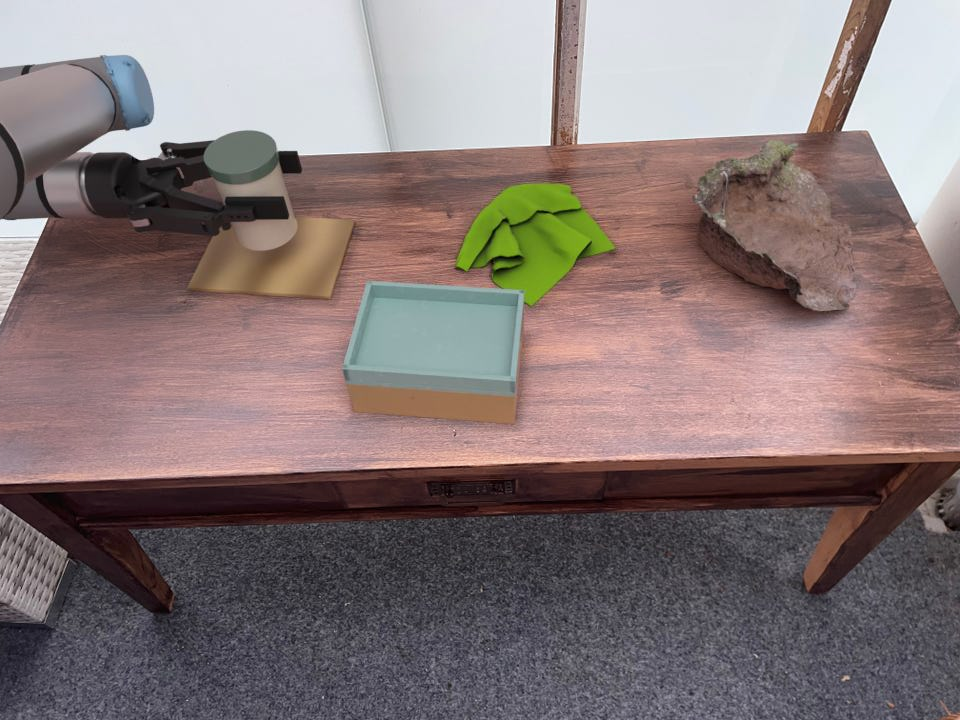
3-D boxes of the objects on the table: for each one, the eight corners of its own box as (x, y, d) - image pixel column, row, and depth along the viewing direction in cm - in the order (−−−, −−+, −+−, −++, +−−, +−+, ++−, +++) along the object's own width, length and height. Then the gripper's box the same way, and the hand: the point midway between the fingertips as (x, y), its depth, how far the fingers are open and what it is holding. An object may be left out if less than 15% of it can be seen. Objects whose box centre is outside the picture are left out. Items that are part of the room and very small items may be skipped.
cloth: (572, 175, 101) (574, 161, 99) (635, 283, 88) (638, 268, 86) (430, 204, 98) (429, 190, 96) (473, 320, 85) (473, 306, 83)
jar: (225, 250, 87) (192, 171, 78) (245, 207, 92) (217, 128, 83) (289, 254, 86) (264, 175, 77) (306, 210, 91) (284, 131, 82)
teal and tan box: (354, 412, 77) (341, 368, 71) (376, 326, 85) (367, 280, 79) (514, 424, 76) (515, 381, 70) (523, 335, 83) (524, 289, 77)
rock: (864, 355, 84) (918, 296, 76) (679, 320, 82) (716, 256, 75) (818, 214, 100) (859, 154, 92) (664, 183, 99) (692, 120, 91)
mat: (188, 290, 89) (187, 287, 89) (225, 216, 98) (224, 212, 97) (330, 299, 87) (330, 296, 87) (355, 223, 96) (355, 219, 96)
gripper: (139, 158, 94) (314, 157, 93) (82, 270, 81) (283, 270, 80) (115, 107, 88) (301, 105, 87) (49, 219, 75) (266, 218, 74)
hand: (292, 184), depth 84 cm, fingers closed on jar, 8 cm apart
